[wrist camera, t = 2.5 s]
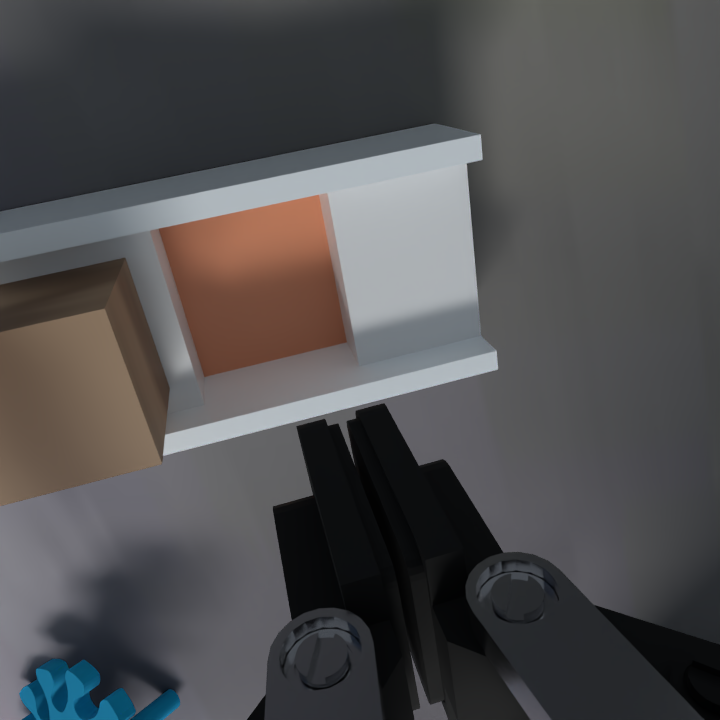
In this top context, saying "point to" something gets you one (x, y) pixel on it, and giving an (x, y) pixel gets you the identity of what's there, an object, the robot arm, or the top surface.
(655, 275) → the top surface
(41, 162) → the top surface
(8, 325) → the block
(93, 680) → the gear
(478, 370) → the trough
